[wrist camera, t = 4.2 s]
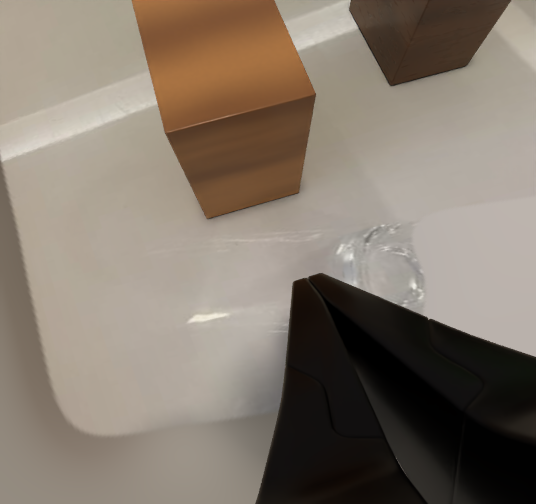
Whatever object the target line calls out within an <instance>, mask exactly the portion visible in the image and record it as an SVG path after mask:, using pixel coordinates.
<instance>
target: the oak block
mask: <svg viewBox="0 0 536 504" xmlns="http://www.w3.org/2000/svg"><path fill="white" fill-rule="evenodd" d="M132 4H133V8H134V12H135V16H136V20H137V23H138V27H139V31H140V35H141V39H142V43H143V47H144V51H145V55H146V59H147V63H148V67H149V71H150V75H151V79H152V83H153V87H154V91H155V95H156V99H157V103H158V107H159V111H160V115H161V119H162V123H163V127H164V131H165V134H166V136H167V138H168V140H169V142H170V144H171V146H172V148H173V150H174V152H175V154H176V156H177V159H178V161H179V163H180V165H181V167H182V169H183V171H184V173H185V175H186V177H187V179H188V181H189V183H190V185H191V187H192V189H193V191H194V193H195V195H196V197H197V200H198V202H199V204H200V206H201V208H202V210H203V212H204V214H205V216H206V218H207V219H208V218H212V217H215V216H219V215H222V214H226V213H229V212H233V211H236V210H240V209H243V208H247V207H250V206H254V205H257V204H261V203H264V202H268V201H271V200H275V199H278V198H282V197H285V196H289V195H292V194H296V193H299V188H300V183H301V177H302V171H303V165H304V160H305V154H306V148H307V143H308V137H309V131H310V125H311V120H312V114H313V108H314V103H315V97H316V93H315V91H314V89H313V86H312V84H311V82H310V80H309V77H308V75H307V73H306V71H305V68H304V66H303V64H302V62H301V60H300V57H299V55H298V53H297V51H296V48H295V46H294V44H293V42H292V39H291V37H290V35H289V33H288V30H287V28H286V26H285V24H284V21H283V19H282V17H281V15H280V12H279V10H278V8H277V6H276V3H275V1H274V0H132Z"/></svg>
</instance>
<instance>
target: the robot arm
mask: <svg viewBox="0 0 536 504" xmlns="http://www.w3.org/2000/svg"><path fill="white" fill-rule="evenodd" d="M285 366H286V367H285V373H284V383H283V390H282V398H281V403H280V408H279V413H278V418H277V422H276V427H275V431H274V435H273V438H272V443H271V447H270V451H269V455H268V459H267V463H266V467H265V471H264V475H263V479H262V483H261V487H260V491H259V494H258V497H257V500H256V504H536V357H534V356H531V355H528V354H525V353H522V352H519V351H516V350H513V349H510V348H507V347H504V346H501V345H498V344H496V343H493V342H490V341H487V340H484V339H481V338H478V337H475V336H473V335H470V334H467V333H465V332H462V331H460V330H457V329H455V328H452V327H450V326H447V325H445V324H442V323H440V322H438V321H435V320H433V319H429V320H428V318H427V317H425V316H423V315H421V314H418V313H416V312H413V311H411V310H409V309H406V308H404V307H402V306H399V305H397V304H394V303H392V302H390V301H387V300H385V299H383V298H380V297H378V296H375V295H373V294H371V293H368V292H366V291H363V290H361V289H359V288H356V287H354V286H352V285H349V284H347V283H344V282H342V281H340V280H337V279H335V278H332V277H330V276H328V275H325V274H323V273H319V274H316V275H313V276H309V277H308V279H307V278H303V279H300V280H296V281H294V282H293V286H292V297H291V308H290V319H289V330H288V342H287V353H286V364H285ZM396 458H397V459H396ZM397 460H398V461H399V463H400V465H401V467H402V468H403V470H404V471H403V470H402V468H401V467H400V465H399V463H398V461H397ZM404 472H405V473H406V474H405V473H404ZM406 475H407V476H406Z"/></svg>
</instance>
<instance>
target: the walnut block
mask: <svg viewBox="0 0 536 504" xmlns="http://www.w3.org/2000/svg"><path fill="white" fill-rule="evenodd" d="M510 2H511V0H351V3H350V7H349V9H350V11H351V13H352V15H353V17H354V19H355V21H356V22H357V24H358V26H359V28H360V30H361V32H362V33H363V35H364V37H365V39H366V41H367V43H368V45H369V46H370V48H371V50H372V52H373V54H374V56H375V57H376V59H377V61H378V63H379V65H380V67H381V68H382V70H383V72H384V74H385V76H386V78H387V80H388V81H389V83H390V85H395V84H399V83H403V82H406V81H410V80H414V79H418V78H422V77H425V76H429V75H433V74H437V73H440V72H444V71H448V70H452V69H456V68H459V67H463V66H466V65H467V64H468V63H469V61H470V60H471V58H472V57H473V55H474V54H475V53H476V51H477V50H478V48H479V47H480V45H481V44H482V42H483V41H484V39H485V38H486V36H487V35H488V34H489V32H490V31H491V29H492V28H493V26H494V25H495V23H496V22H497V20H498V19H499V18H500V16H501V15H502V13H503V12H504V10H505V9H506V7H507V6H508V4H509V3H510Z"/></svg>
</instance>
